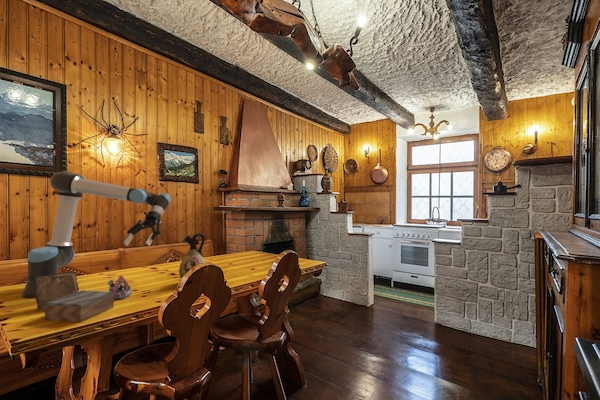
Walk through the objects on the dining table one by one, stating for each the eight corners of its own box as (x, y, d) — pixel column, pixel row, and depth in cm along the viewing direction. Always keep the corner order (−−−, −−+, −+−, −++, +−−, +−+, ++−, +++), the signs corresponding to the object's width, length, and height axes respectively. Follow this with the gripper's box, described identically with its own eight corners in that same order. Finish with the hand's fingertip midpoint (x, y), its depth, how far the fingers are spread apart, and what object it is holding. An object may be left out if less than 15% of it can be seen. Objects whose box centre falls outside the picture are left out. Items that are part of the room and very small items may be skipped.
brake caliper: (126, 296, 140) (112, 276, 140) (108, 310, 140) (94, 289, 141) (140, 289, 151) (126, 270, 152) (123, 302, 151) (110, 283, 152)
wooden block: (44, 320, 116) (45, 302, 117) (81, 305, 133) (82, 290, 133) (80, 322, 114) (80, 304, 115) (113, 307, 131) (113, 291, 131)
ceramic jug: (179, 288, 162) (179, 234, 162) (178, 281, 176) (179, 232, 177) (210, 285, 169) (211, 233, 169) (208, 279, 183) (208, 231, 183)
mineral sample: (80, 303, 136) (81, 271, 136) (78, 306, 132) (78, 273, 132) (35, 308, 130) (35, 274, 130) (30, 311, 126) (31, 276, 126)
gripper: (176, 218, 172) (160, 248, 158) (139, 219, 177) (120, 248, 163) (170, 209, 167) (153, 239, 152) (132, 211, 172) (112, 240, 157)
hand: (136, 244), depth 157 cm, fingers open, 13 cm apart
